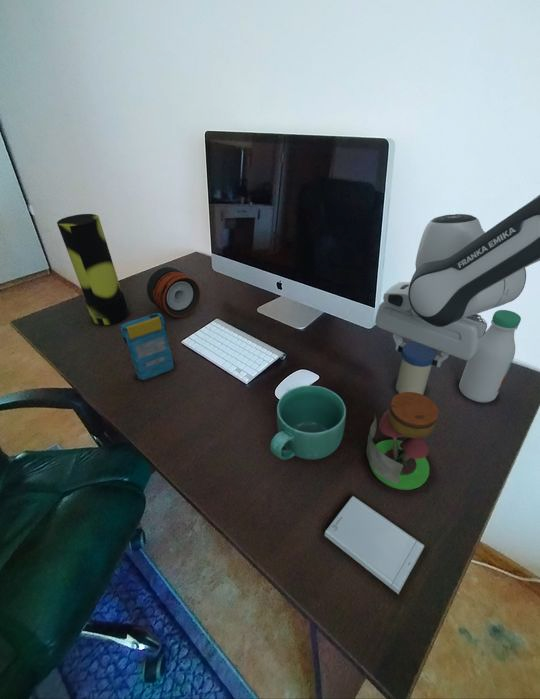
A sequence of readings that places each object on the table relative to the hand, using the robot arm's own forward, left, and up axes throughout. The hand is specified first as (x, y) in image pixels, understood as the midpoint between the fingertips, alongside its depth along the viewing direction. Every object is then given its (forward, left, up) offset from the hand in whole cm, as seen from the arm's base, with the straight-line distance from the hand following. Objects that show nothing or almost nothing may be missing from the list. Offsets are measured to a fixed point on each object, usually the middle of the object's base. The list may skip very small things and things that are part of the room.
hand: (417, 357), depth 79 cm
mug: (-11, +28, -9) cm, 31 cm away
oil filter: (+50, +54, -9) cm, 74 cm away
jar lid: (0, 0, +2) cm, 2 cm away
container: (+50, +74, -9) cm, 90 cm away
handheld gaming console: (+19, +58, -9) cm, 62 cm away
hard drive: (-31, +22, -9) cm, 39 cm away
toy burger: (-18, +12, -9) cm, 23 cm away
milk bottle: (-4, -14, -9) cm, 17 cm away
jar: (0, 0, -9) cm, 9 cm away
